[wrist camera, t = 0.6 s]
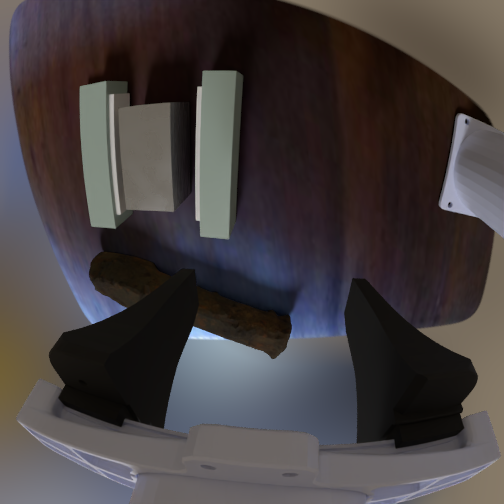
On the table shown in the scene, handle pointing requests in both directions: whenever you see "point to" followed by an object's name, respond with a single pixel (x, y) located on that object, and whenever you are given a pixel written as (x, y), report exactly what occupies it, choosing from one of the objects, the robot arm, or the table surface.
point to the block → (155, 155)
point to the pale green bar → (103, 151)
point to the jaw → (217, 151)
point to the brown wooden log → (210, 303)
